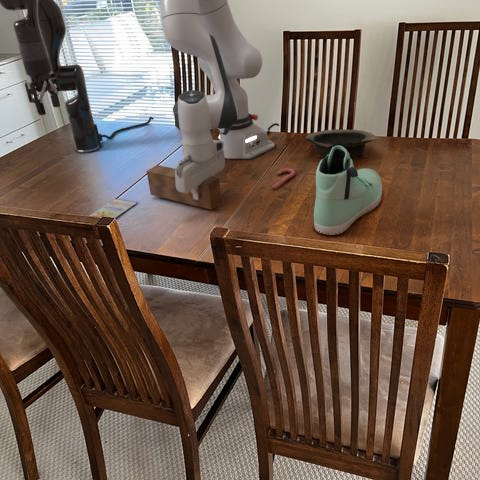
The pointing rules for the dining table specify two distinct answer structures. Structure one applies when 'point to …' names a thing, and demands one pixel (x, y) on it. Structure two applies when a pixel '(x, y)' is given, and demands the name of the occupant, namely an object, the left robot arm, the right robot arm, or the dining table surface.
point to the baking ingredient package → (113, 208)
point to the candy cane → (284, 177)
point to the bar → (165, 187)
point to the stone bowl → (340, 141)
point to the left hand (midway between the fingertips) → (49, 110)
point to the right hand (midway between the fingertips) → (203, 194)
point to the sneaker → (343, 192)
